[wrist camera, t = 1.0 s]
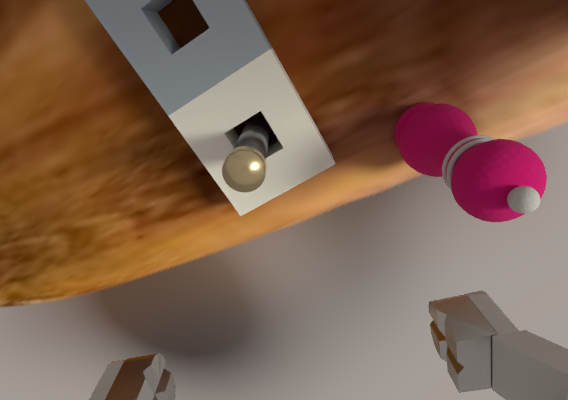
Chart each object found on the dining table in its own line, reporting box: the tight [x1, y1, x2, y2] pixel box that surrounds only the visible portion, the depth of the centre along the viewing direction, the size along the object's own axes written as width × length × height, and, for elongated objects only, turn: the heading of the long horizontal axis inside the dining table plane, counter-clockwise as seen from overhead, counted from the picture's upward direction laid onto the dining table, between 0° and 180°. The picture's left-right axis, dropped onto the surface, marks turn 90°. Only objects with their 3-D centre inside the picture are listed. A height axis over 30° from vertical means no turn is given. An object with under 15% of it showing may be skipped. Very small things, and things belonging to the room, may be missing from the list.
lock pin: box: [222, 117, 271, 192], centre depth 34 cm, size 3×3×14 cm
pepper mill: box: [394, 103, 547, 222], centre depth 31 cm, size 7×7×20 cm
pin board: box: [85, 0, 335, 216], centre depth 36 cm, size 12×26×4 cm, turn 31°
